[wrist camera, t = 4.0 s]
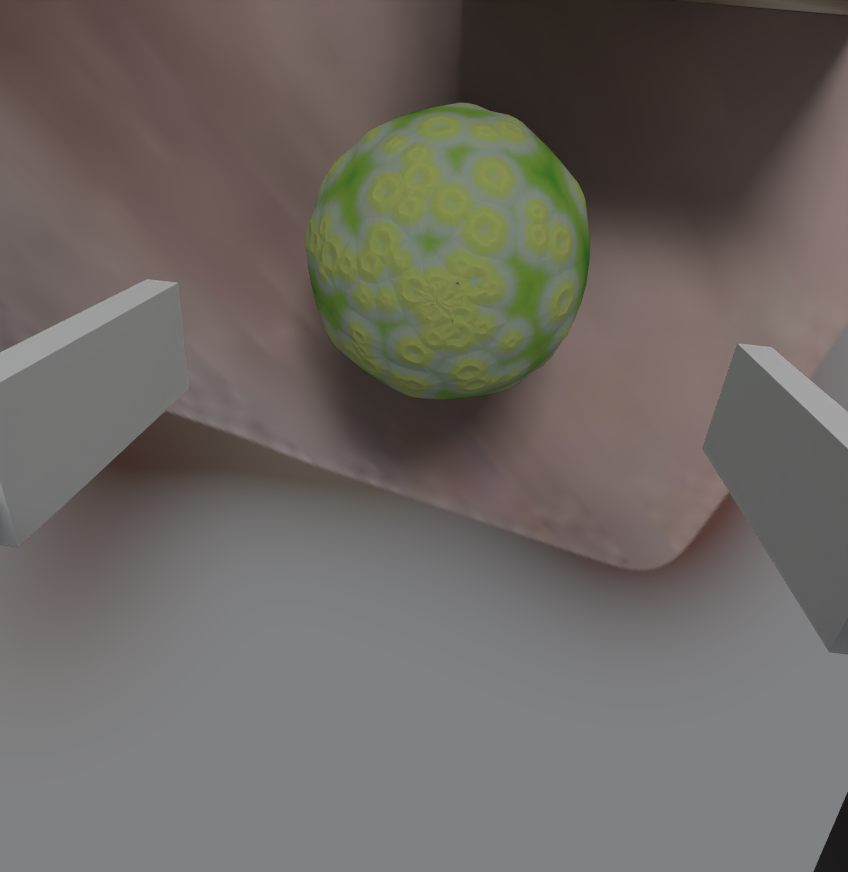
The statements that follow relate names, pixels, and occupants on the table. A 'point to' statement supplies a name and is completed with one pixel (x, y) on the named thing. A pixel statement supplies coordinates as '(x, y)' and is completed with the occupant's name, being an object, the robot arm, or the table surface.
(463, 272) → the decorative ball
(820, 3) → the display stand
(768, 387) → the robot arm
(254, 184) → the table surface
